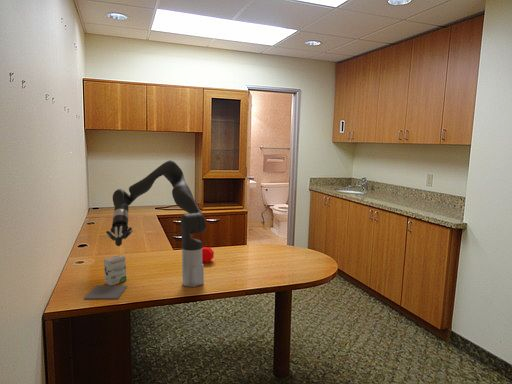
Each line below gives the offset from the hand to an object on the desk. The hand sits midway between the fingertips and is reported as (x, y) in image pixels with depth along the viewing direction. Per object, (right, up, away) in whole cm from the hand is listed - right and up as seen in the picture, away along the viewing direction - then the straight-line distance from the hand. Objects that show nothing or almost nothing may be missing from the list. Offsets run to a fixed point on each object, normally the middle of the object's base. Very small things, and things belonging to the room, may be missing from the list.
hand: (118, 245), depth 178 cm
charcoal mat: (+1, -18, -17) cm, 25 cm away
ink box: (0, -17, -4) cm, 18 cm away
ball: (+38, -13, +27) cm, 49 cm away
